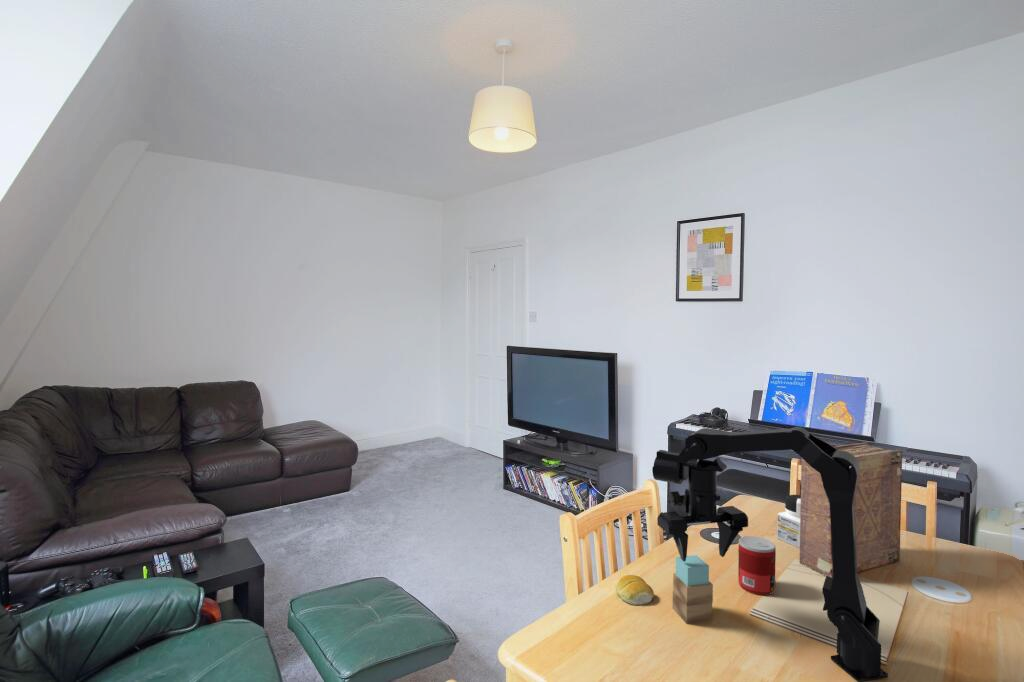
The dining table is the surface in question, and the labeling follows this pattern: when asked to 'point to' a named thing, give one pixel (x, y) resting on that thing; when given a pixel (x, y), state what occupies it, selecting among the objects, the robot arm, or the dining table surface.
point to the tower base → (692, 611)
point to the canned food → (756, 565)
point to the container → (790, 521)
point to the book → (855, 511)
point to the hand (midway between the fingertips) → (702, 558)
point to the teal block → (692, 570)
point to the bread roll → (634, 590)
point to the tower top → (693, 592)
